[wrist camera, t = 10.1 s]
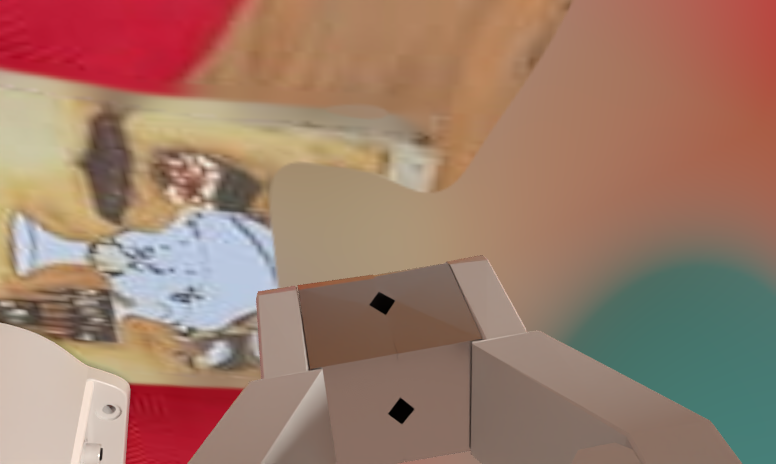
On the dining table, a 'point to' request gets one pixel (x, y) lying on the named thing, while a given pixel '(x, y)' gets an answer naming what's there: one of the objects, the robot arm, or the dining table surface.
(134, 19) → the dining table surface
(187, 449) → the dining table surface
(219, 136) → the dining table surface
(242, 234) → the dining table surface
